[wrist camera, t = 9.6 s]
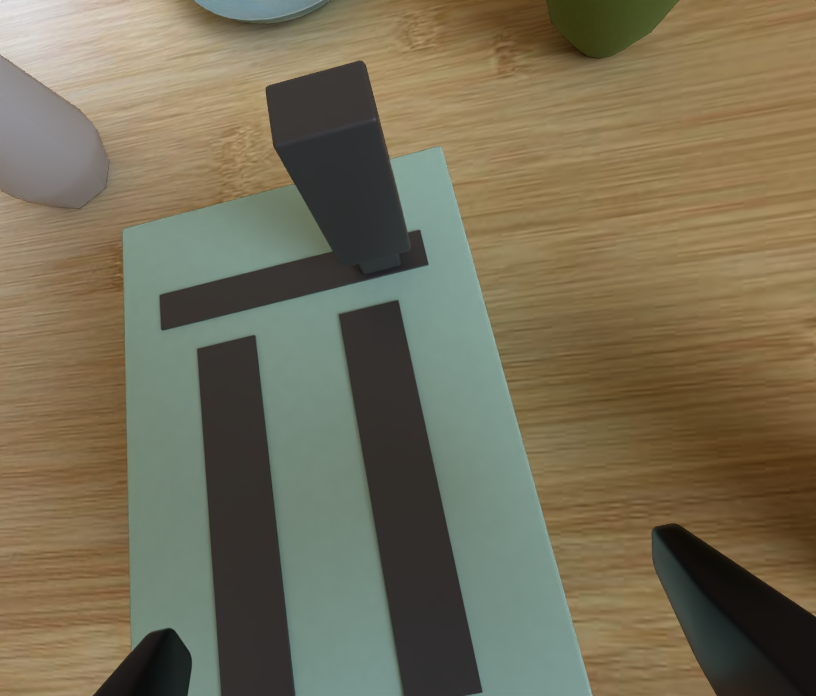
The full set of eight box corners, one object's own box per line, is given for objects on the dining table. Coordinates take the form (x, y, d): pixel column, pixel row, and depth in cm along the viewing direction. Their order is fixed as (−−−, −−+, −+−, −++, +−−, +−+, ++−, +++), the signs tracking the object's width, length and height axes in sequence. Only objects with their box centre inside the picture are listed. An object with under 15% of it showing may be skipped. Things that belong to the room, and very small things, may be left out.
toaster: (551, 635, 19) (604, 726, 11) (270, 690, 20) (127, 814, 12) (454, 263, 24) (442, 140, 16) (234, 317, 25) (117, 225, 17)
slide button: (417, 270, 15) (378, 118, 9) (351, 286, 15) (272, 146, 9) (407, 227, 15) (364, 56, 10) (343, 243, 16) (263, 84, 10)
